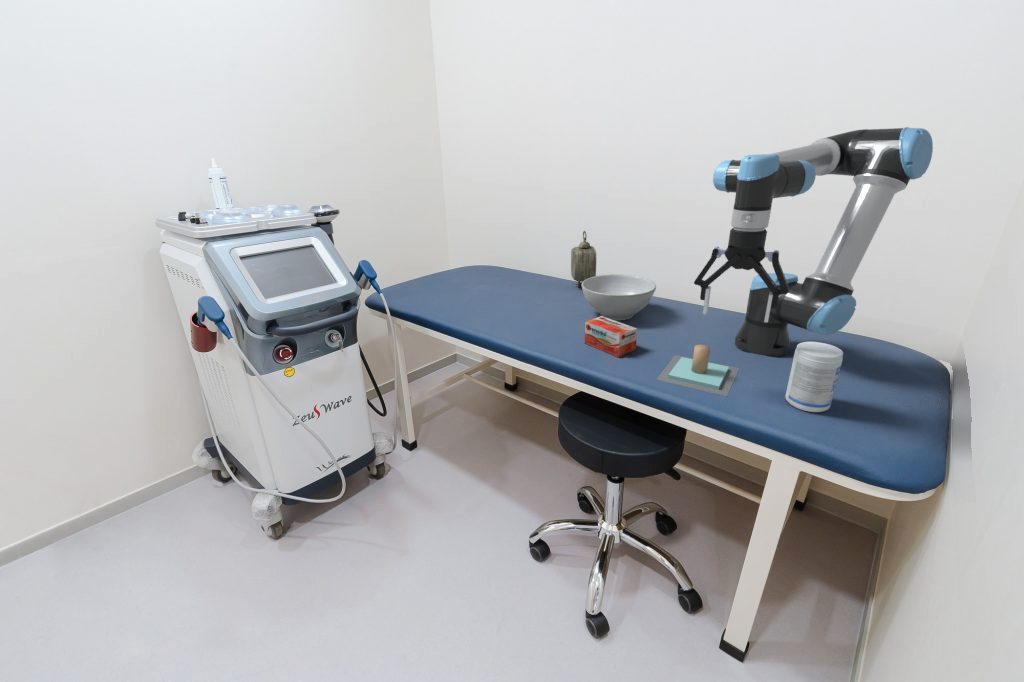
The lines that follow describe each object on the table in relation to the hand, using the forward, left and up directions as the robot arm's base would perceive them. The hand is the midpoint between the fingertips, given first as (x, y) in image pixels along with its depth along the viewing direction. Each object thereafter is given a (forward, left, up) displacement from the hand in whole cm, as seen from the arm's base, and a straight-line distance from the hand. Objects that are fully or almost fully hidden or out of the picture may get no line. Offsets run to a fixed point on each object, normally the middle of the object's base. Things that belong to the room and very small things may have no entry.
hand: (734, 316), depth 113 cm
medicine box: (-11, -36, -21) cm, 43 cm away
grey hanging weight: (-67, -72, -21) cm, 101 cm away
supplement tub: (-3, +19, -21) cm, 28 cm away
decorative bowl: (-40, -45, -21) cm, 64 cm away
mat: (-5, -7, -21) cm, 22 cm away
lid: (-5, -7, -20) cm, 22 cm away
